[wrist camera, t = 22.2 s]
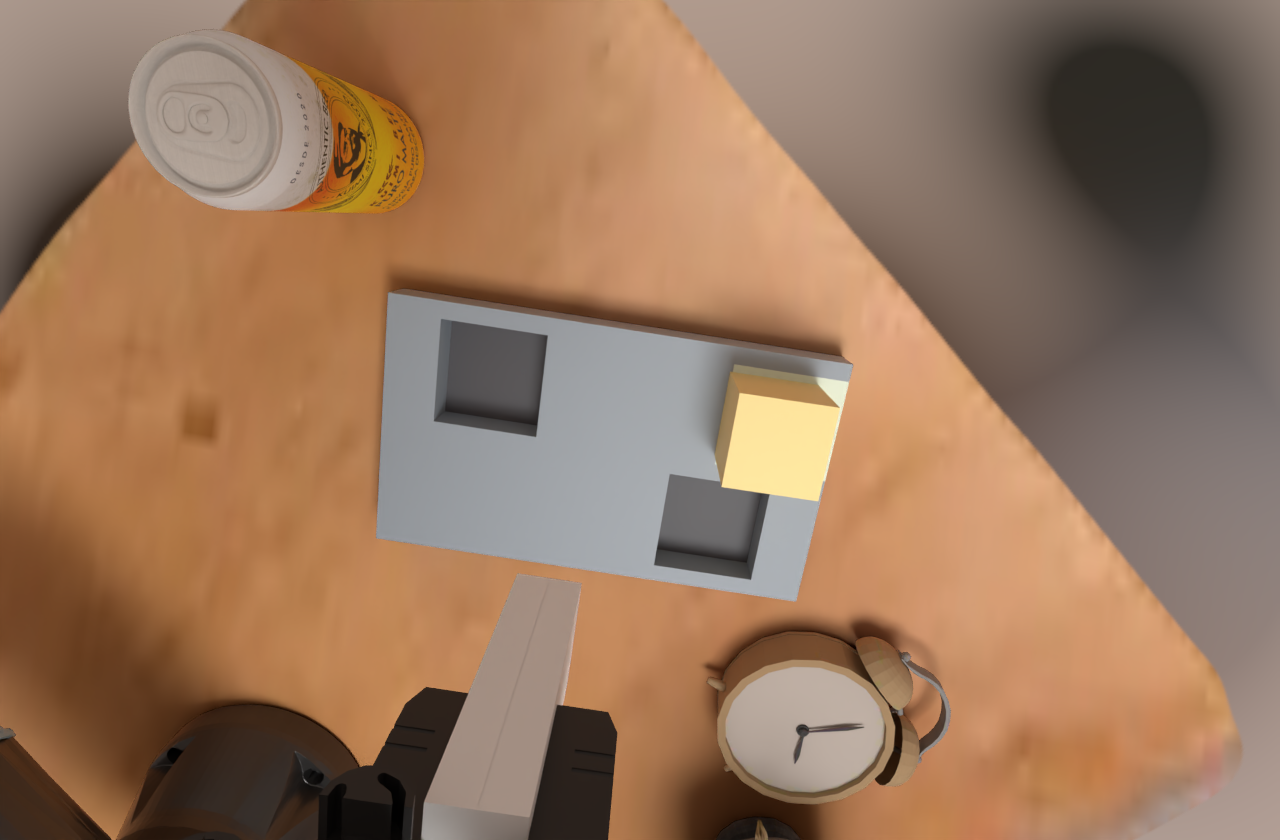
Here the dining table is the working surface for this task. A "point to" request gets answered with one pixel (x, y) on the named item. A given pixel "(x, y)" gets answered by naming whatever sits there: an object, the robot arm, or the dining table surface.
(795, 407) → the block
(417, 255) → the dining table surface
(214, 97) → the beer can
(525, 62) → the dining table surface
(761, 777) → the alarm clock
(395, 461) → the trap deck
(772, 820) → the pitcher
